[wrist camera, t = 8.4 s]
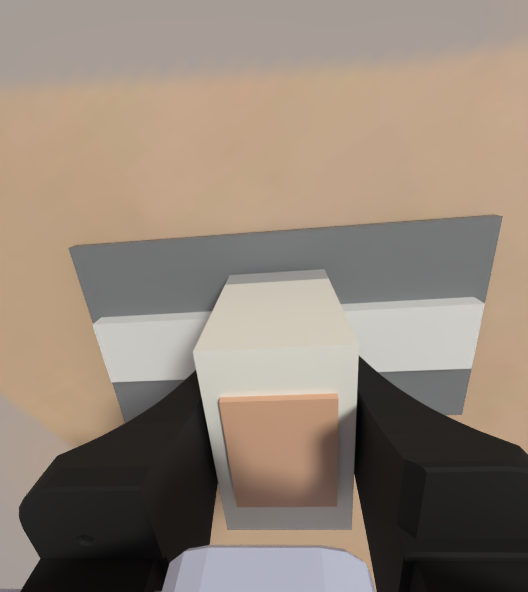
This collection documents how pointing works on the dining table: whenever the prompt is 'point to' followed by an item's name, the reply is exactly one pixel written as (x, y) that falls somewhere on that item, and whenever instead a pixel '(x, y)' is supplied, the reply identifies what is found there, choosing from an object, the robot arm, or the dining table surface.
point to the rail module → (281, 401)
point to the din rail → (297, 257)
